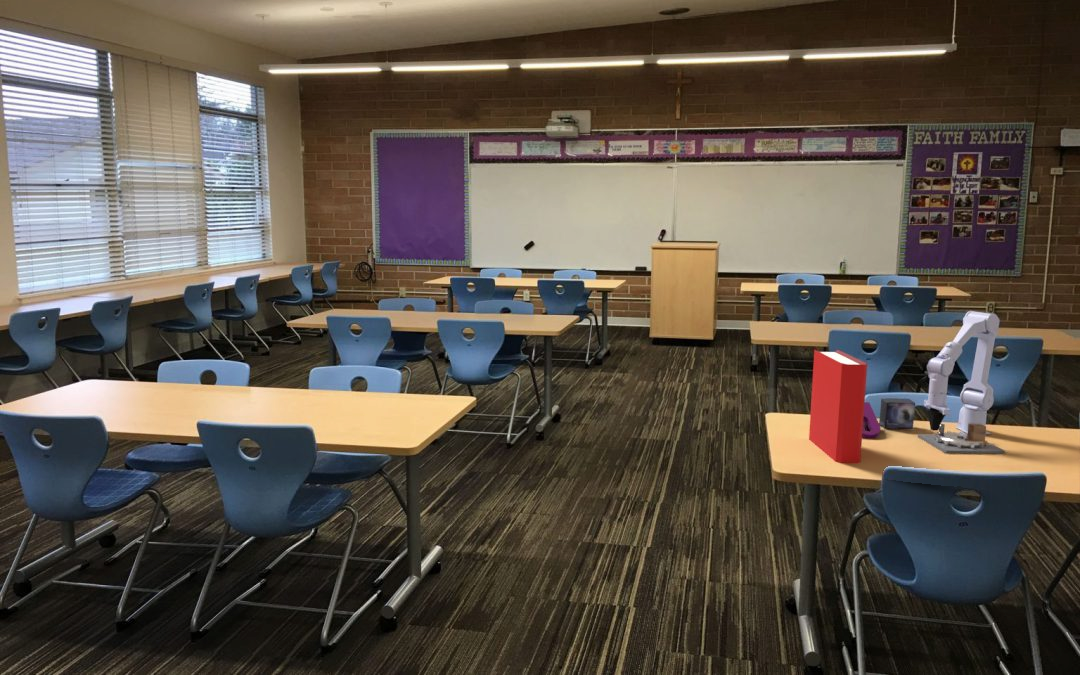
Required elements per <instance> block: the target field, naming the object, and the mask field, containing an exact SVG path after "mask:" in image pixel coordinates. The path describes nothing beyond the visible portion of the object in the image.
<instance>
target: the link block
mask: <svg viewBox="0 0 1080 675" xmlns="http://www.w3.org/2000/svg"><path fill="white" fill-rule="evenodd" d="M986 431H987V426H986V425H985V426H984V425H982V424H968V433H966V434H967V438H969V439H971V440H973V441H986V435H987V434H986Z"/></svg>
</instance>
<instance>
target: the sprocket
mask: <svg viewBox="0 0 1080 675" xmlns="http://www.w3.org/2000/svg"><path fill="white" fill-rule="evenodd" d="M945 426H946V424H944V423H941V424H940V426H939V430H938V432H937V434H938V435H937V434H936V433H935V435H934V439H936V441H937V442H942V443H944V445H952V446H957V447H959V448H961V447H969V448H974V447H981V448H983V447H984V445H987V442H988V440H985V441H973V440H971V439H969V438H967V433H965V432H963V431H960V432H955V431H954V432H951V431H945Z"/></svg>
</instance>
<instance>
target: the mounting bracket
mask: <svg viewBox="0 0 1080 675" xmlns="http://www.w3.org/2000/svg"><path fill="white" fill-rule="evenodd" d="M881 428H882V427H881V426H880V425H879V420H878V419H877V416H876V414H875V412H874V409H873V408H872V405H871V403H870V402H867V401H866V402H865V404H864V417H863V431H862V439H876V438H878V437H879V435H880V433H881ZM867 430H869V431H867Z"/></svg>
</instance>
